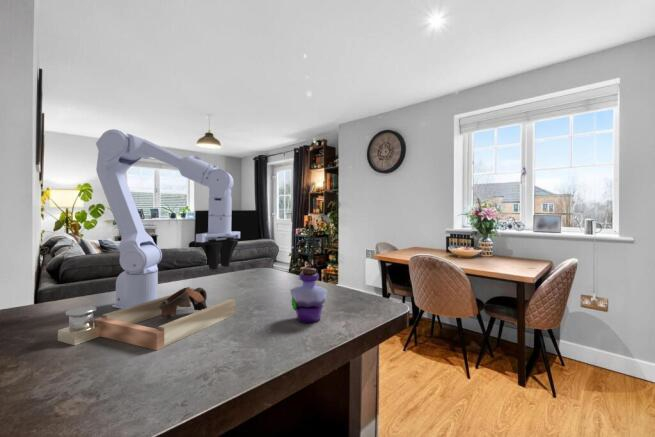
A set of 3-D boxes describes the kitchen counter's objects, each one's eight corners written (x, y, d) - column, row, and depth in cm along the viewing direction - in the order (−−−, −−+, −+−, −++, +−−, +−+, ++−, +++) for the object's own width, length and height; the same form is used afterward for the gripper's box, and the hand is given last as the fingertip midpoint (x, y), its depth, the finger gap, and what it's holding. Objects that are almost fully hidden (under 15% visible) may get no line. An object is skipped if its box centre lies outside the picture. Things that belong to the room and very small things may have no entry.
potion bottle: (282, 319, 71) (282, 267, 71) (309, 311, 78) (309, 263, 78) (307, 329, 66) (308, 273, 65) (334, 319, 72) (335, 268, 72)
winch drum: (57, 340, 58) (58, 311, 57) (87, 331, 62) (87, 304, 62) (74, 345, 56) (74, 315, 56) (103, 335, 60) (103, 307, 60)
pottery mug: (202, 329, 66) (180, 298, 64) (167, 345, 67) (145, 315, 66) (224, 300, 77) (206, 272, 75) (193, 313, 79) (175, 287, 77)
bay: (94, 334, 61) (94, 316, 61) (182, 305, 81) (182, 291, 81) (156, 350, 54) (157, 330, 54) (235, 314, 74) (235, 299, 74)
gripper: (212, 216, 73) (211, 273, 73) (249, 216, 86) (248, 264, 86) (189, 215, 75) (188, 271, 75) (229, 215, 89) (228, 262, 89)
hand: (219, 267), depth 81 cm, fingers open, 4 cm apart
